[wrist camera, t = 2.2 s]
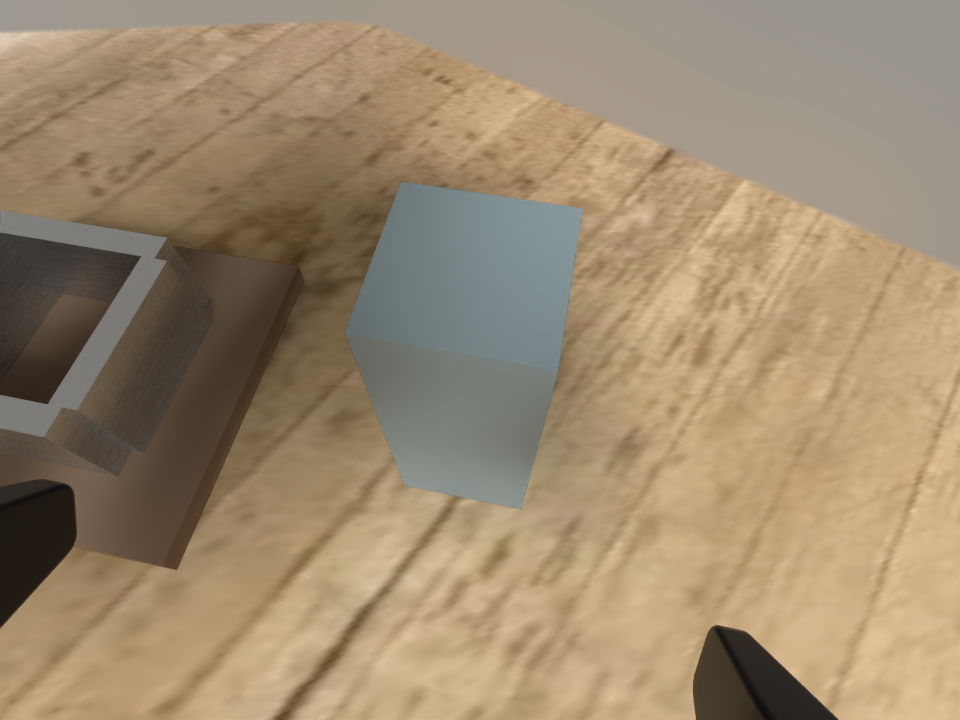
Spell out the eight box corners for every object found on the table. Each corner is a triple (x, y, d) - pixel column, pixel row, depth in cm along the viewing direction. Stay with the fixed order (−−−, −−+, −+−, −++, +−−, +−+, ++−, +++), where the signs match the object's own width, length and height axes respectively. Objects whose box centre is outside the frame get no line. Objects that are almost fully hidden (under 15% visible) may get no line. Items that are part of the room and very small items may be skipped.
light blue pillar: (538, 401, 23) (582, 208, 13) (521, 509, 21) (557, 370, 11) (432, 382, 23) (400, 181, 14) (404, 485, 21) (344, 332, 12)
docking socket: (304, 280, 26) (269, 201, 22) (176, 569, 20) (91, 541, 15) (49, 237, 27) (-33, 154, 23) (-147, 497, 21) (-311, 451, 17)
